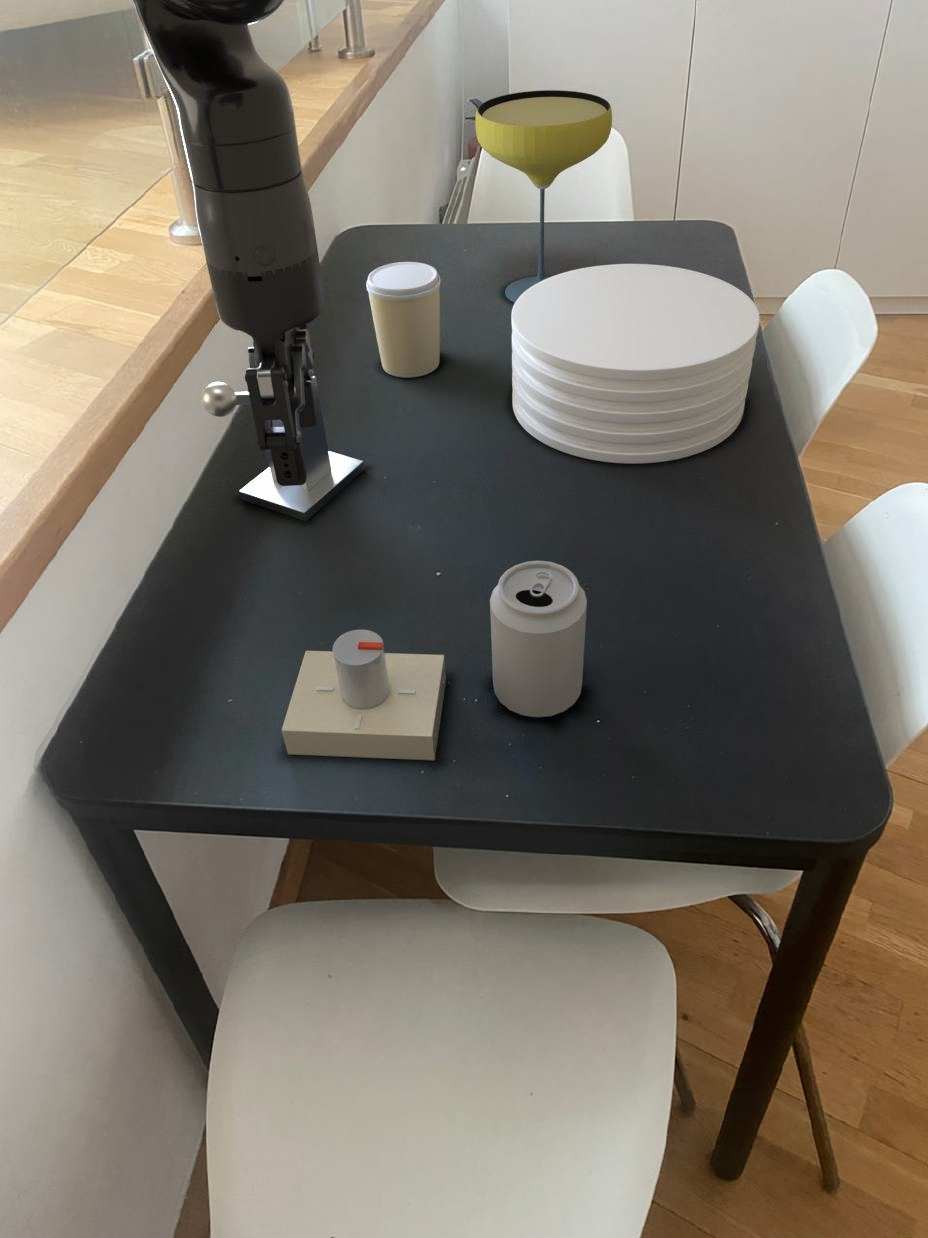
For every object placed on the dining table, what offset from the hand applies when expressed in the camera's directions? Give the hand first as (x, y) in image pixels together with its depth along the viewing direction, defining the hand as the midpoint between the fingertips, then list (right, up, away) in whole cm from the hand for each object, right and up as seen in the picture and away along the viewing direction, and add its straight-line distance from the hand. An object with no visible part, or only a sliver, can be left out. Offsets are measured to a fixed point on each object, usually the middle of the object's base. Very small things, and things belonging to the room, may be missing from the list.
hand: (298, 452), depth 73 cm
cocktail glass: (+25, +36, +65) cm, 78 cm away
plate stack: (+33, +14, +40) cm, 54 cm away
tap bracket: (-5, +2, +30) cm, 30 cm away
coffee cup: (+6, +21, +50) cm, 55 cm away
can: (+19, -19, +5) cm, 28 cm away
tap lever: (-8, +7, +19) cm, 22 cm away
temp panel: (+5, -21, +4) cm, 22 cm away
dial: (+5, -19, +2) cm, 20 cm away
